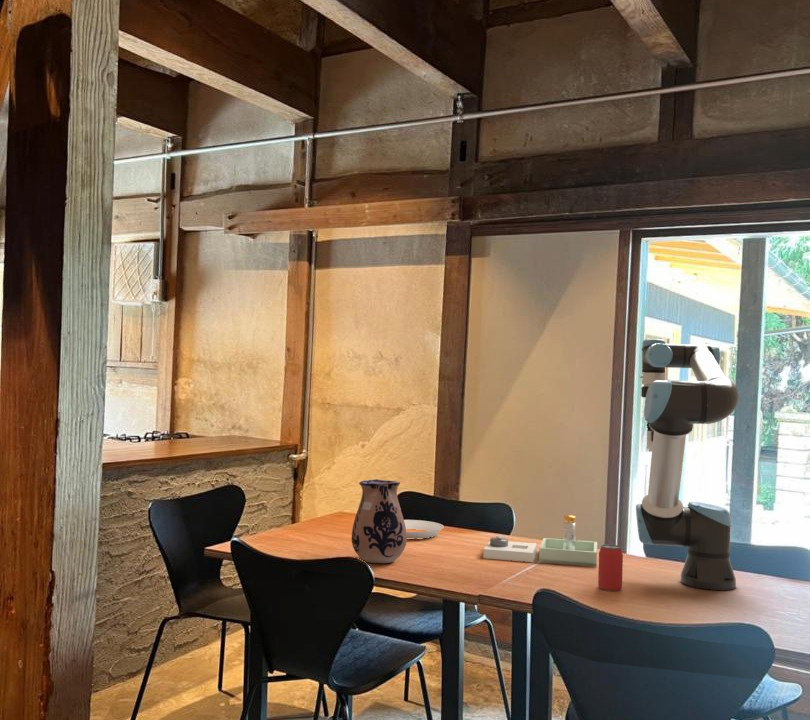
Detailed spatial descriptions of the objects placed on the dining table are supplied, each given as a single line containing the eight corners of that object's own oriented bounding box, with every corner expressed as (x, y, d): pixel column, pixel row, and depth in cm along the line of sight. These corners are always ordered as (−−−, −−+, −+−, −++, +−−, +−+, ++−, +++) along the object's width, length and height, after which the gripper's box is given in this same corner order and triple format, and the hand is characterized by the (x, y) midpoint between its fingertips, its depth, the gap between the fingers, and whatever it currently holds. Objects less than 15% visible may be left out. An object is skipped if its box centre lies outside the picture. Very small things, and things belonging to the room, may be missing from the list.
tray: (596, 566, 251) (596, 552, 251) (539, 562, 256) (539, 548, 256) (596, 555, 269) (597, 541, 269) (543, 551, 273) (543, 537, 273)
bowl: (410, 526, 314) (410, 517, 314) (457, 536, 296) (457, 526, 296) (363, 533, 296) (363, 524, 296) (410, 544, 278) (410, 534, 278)
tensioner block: (532, 562, 255) (533, 544, 255) (483, 558, 259) (483, 540, 259) (536, 552, 271) (537, 535, 271) (490, 548, 275) (490, 531, 275)
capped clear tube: (574, 557, 260) (575, 517, 260) (562, 556, 261) (563, 516, 261) (575, 554, 264) (576, 515, 264) (563, 553, 265) (564, 514, 265)
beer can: (605, 592, 220) (606, 549, 220) (593, 586, 226) (594, 544, 227) (626, 591, 222) (627, 548, 222) (614, 585, 228) (615, 543, 228)
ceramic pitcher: (361, 569, 239) (363, 486, 240) (340, 554, 259) (342, 477, 260) (414, 565, 246) (417, 484, 247) (390, 551, 265) (392, 476, 266)
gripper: (639, 385, 275) (638, 446, 275) (643, 385, 251) (641, 452, 250) (662, 386, 273) (661, 447, 273) (668, 386, 249) (666, 453, 249)
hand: (652, 450), depth 262 cm, fingers open, 13 cm apart
